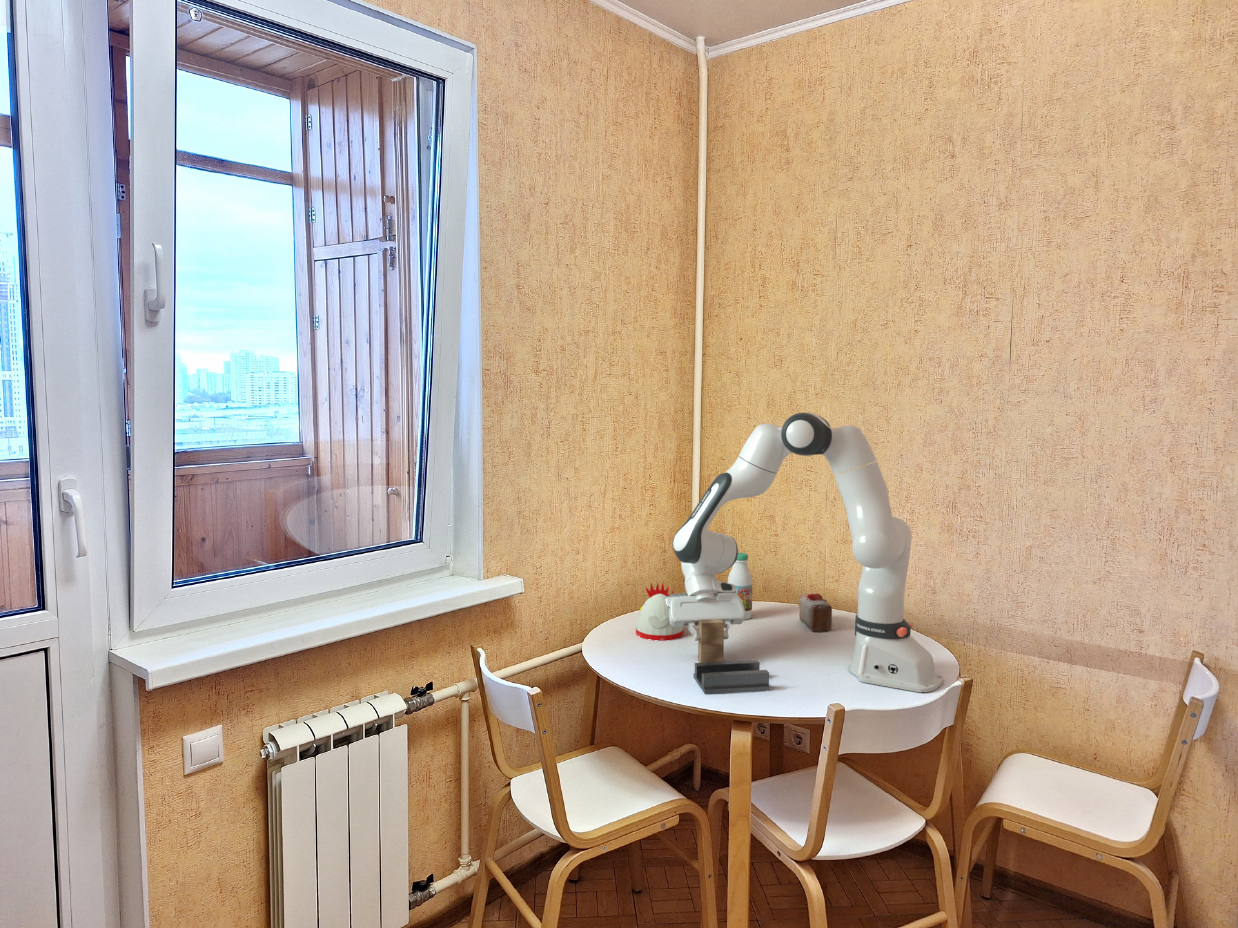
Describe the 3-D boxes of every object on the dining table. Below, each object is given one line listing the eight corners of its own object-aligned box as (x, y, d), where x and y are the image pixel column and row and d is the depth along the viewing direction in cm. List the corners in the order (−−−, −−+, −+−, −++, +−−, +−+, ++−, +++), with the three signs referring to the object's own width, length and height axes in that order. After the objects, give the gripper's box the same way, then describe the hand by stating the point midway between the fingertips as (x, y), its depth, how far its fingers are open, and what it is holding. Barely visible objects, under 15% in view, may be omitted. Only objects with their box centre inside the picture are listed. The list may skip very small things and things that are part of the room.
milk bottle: (721, 616, 251) (722, 553, 249) (736, 611, 256) (738, 550, 254) (741, 622, 245) (743, 557, 243) (756, 616, 251) (758, 553, 249)
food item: (795, 619, 249) (796, 588, 248) (820, 618, 250) (821, 587, 249) (810, 632, 235) (810, 600, 234) (836, 632, 236) (837, 599, 235)
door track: (755, 673, 202) (755, 658, 202) (770, 690, 191) (770, 674, 191) (693, 677, 200) (693, 661, 199) (704, 694, 189) (705, 677, 188)
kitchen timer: (637, 625, 242) (638, 576, 240) (683, 626, 241) (684, 577, 239) (634, 640, 228) (634, 588, 227) (683, 641, 227) (683, 589, 225)
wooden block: (720, 659, 212) (720, 618, 211) (723, 663, 209) (724, 622, 208) (698, 660, 211) (698, 619, 210) (700, 664, 208) (701, 623, 207)
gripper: (666, 587, 213) (674, 635, 205) (741, 584, 216) (751, 631, 208) (663, 599, 218) (670, 646, 210) (735, 596, 221) (746, 642, 213)
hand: (711, 638), depth 209 cm, fingers closed on wooden block, 6 cm apart
